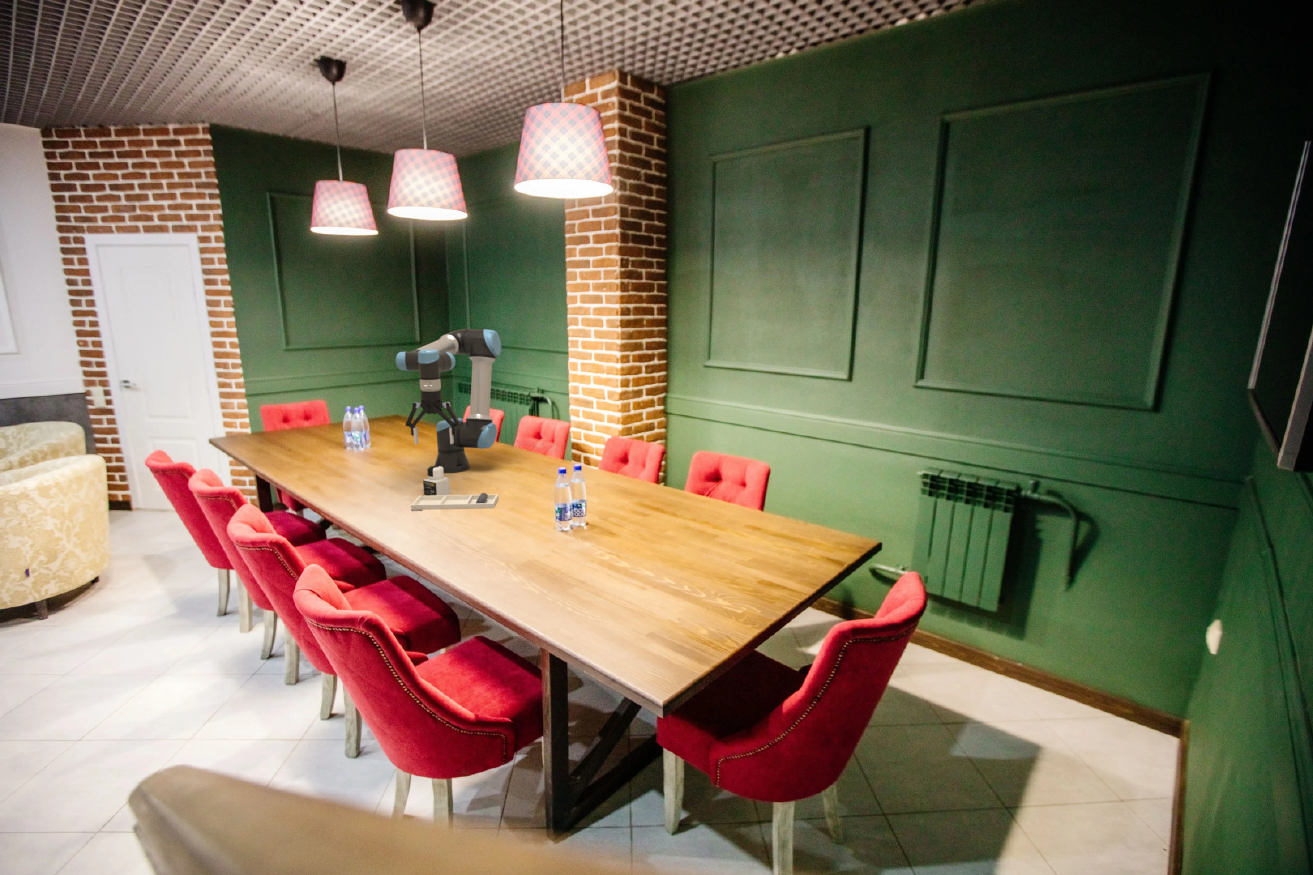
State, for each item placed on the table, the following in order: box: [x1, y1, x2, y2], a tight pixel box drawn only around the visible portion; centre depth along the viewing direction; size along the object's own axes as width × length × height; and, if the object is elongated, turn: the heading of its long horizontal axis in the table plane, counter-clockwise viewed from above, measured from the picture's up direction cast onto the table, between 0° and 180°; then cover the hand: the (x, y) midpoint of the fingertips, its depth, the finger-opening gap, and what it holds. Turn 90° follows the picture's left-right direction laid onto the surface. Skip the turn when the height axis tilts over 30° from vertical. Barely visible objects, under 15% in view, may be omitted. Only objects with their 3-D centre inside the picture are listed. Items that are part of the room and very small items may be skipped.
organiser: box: [410, 494, 499, 512], centre depth 242 cm, size 12×30×2 cm, turn 95°
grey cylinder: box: [476, 492, 488, 503], centre depth 243 cm, size 8×3×3 cm, turn 5°
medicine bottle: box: [422, 465, 451, 496], centre depth 252 cm, size 7×7×12 cm
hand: (434, 443), depth 249 cm, fingers open, 13 cm apart
